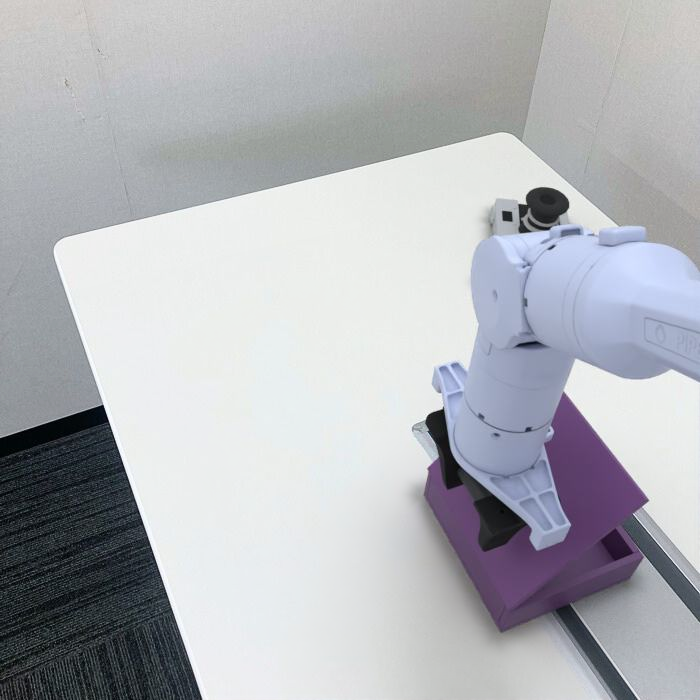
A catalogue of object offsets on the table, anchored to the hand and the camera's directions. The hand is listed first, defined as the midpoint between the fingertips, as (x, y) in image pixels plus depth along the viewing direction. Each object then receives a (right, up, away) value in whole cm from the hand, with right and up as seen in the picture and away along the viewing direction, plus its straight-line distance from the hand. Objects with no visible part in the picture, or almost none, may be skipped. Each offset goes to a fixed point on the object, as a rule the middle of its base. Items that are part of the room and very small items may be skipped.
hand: (474, 512), depth 56 cm
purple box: (+5, -3, +7) cm, 9 cm away
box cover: (+4, +2, 0) cm, 5 cm away
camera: (+11, +23, +33) cm, 42 cm away
